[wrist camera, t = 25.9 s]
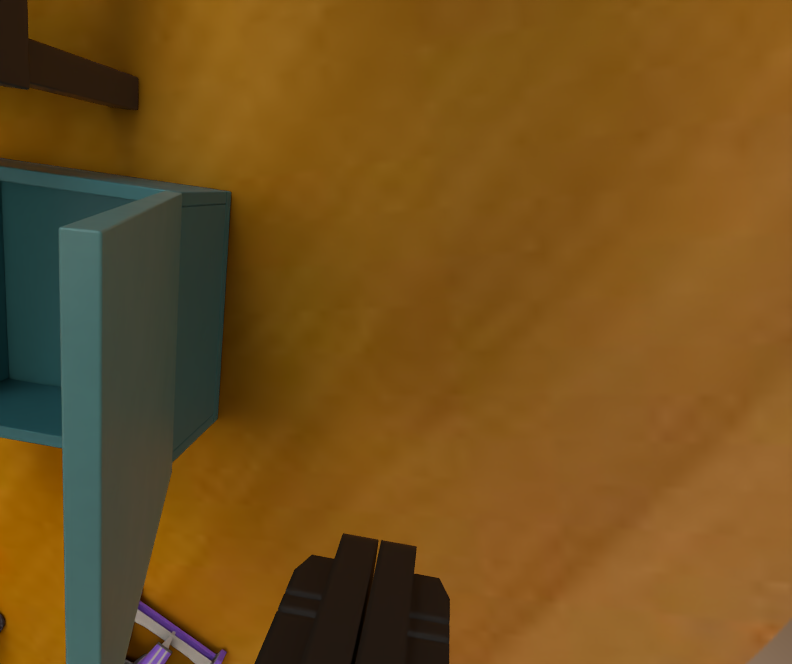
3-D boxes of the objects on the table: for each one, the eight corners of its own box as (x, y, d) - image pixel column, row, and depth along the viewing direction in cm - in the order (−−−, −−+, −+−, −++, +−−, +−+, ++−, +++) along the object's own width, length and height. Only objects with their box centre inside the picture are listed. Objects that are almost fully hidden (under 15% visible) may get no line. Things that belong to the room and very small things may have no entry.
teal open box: (8, 383, 32) (-85, 422, 26) (-2, 157, 28) (-109, 150, 23) (218, 419, 31) (168, 467, 25) (231, 191, 28) (177, 191, 22)
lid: (67, 763, 13) (100, 759, 13) (57, 226, 10) (102, 231, 10) (154, 472, 25) (172, 472, 25) (163, 190, 22) (182, 193, 22)
